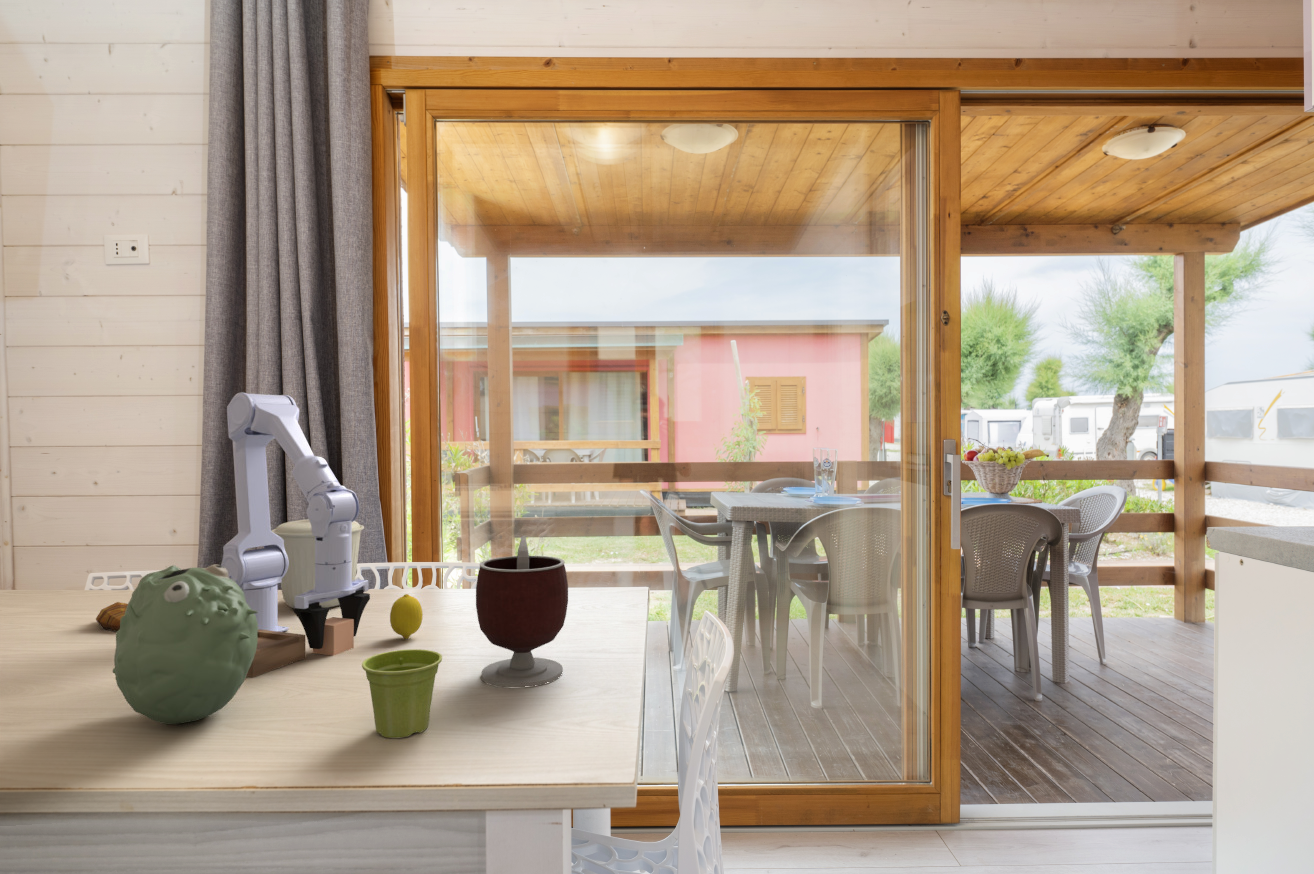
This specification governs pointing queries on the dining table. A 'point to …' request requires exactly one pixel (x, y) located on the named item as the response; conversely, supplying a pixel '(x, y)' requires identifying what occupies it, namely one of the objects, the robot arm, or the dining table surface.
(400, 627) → the lemon
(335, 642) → the block
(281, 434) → the robot arm
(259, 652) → the walnut base
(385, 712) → the plant pot
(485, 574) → the mate gourd
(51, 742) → the dining table surface
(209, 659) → the green pufferfish toy
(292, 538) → the canister
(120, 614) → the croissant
